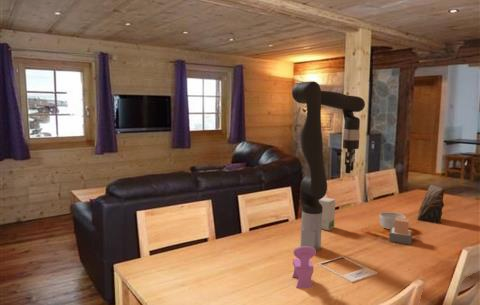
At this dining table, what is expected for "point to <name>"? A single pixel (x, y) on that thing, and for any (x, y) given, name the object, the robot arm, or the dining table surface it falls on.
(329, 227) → the skincare box
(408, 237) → the block
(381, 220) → the ramekin
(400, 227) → the cube
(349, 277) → the photo frame
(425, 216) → the dark rock
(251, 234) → the dining table surface
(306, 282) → the purple figurine
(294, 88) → the robot arm
